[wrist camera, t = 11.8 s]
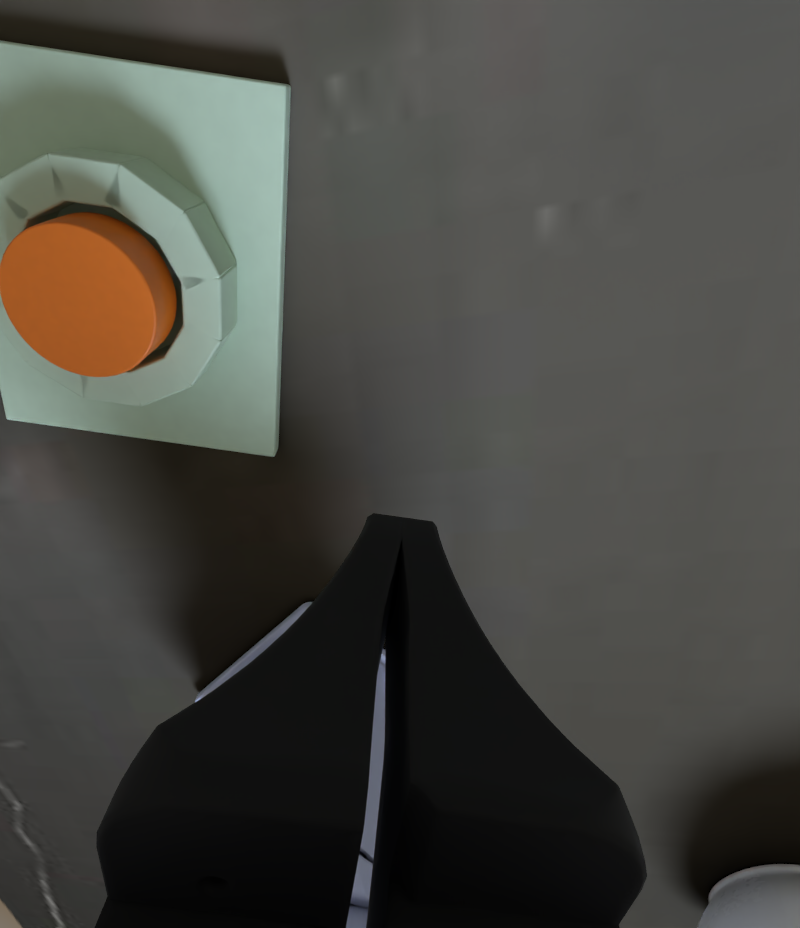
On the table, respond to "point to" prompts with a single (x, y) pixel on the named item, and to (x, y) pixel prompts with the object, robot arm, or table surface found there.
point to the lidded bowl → (755, 899)
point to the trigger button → (88, 293)
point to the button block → (156, 236)
